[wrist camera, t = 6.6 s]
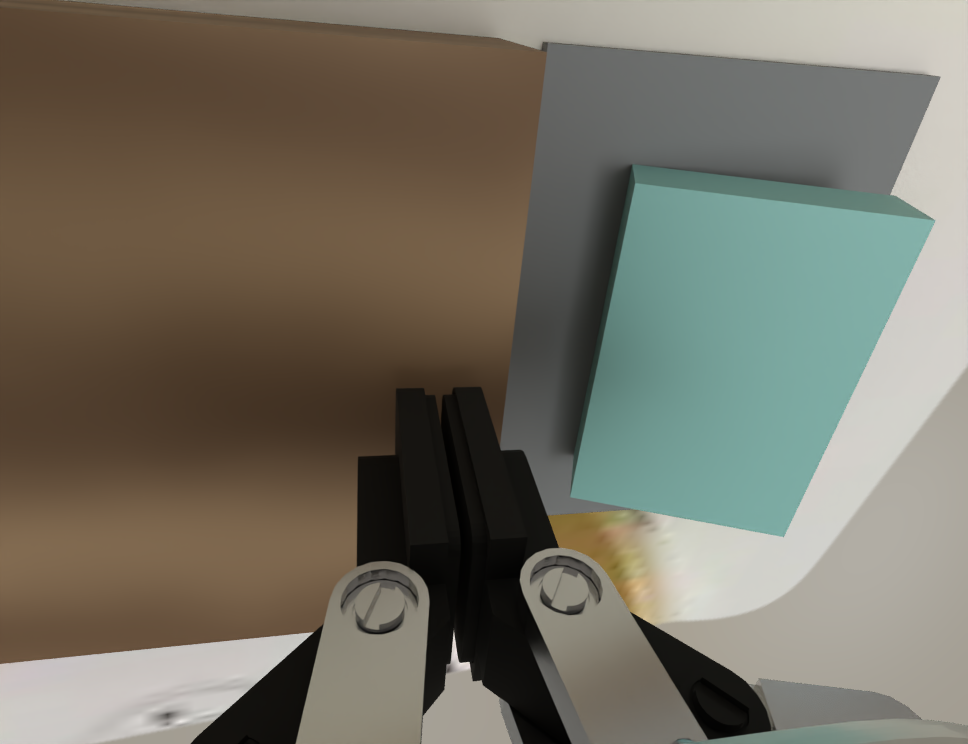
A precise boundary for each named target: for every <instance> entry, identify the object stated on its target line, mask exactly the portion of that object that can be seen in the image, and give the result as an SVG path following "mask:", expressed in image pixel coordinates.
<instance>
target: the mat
mask: <svg viewBox="0 0 968 744" xmlns="http://www.w3.org/2000/svg"><path fill="white" fill-rule="evenodd" d="M542 51H544V52H547V57H546V65H545V74H544V82H543V91H542V99H541V107H540V116H539V124H538V132H537V141H536V149H535V157H534V166H533V174H532V182H531V191H530V199H529V207H528V216H527V224H526V232H525V241H524V249H523V258H522V266H521V274H520V283H519V291H518V299H517V308H516V316H515V324H514V333H513V341H512V349H511V358H510V366H509V374H508V383H507V391H506V400H505V408H504V416H503V425H502V433H501V441H500V449H501V450H522V451H524V453H525V455H526V457H527V460H528V463H529V466H530V468H531V471H532V474H533V477H534V480H535V482H536V485H537V488H538V491H539V494H540V496H541V499H542V502H543V505H544V507H545V510H546V513H547V515H559V514H573V513H588V512H602V511H616V510H630V509H631V508H625V507H620V506H615V505H609V504H604V503H599V502H593V501H588V500H582V499H577V498H572V497H570V491H571V479H572V468H573V456H574V451H575V446H576V441H577V436H578V431H579V426H580V421H581V416H582V411H583V406H584V401H585V396H586V391H587V386H588V381H589V376H590V371H591V367H592V362H593V357H594V352H595V347H596V342H597V337H598V332H599V327H600V322H601V317H602V312H603V307H604V302H605V297H606V292H607V287H608V283H609V278H610V273H611V268H612V263H613V258H614V253H615V248H616V243H617V238H618V233H619V228H620V223H621V218H622V213H623V208H624V203H625V199H626V194H627V189H628V184H629V179H630V174H631V169H632V164H635V165H643V166H651V167H660V168H668V169H676V170H685V171H693V172H701V173H709V174H718V175H726V176H734V177H743V178H751V179H759V180H767V181H776V182H784V183H792V184H801V185H809V186H817V187H825V188H834V189H842V190H850V191H859V192H867V193H875V194H883V195H890V194H891V191H892V189H893V187H894V184H895V182H896V180H897V177H898V175H899V173H900V170H901V168H902V166H903V163H904V161H905V159H906V156H907V154H908V152H909V149H910V147H911V145H912V142H913V140H914V138H915V135H916V133H917V131H918V129H919V126H920V124H921V122H922V119H923V117H924V115H925V112H926V110H927V108H928V105H929V103H930V101H931V98H932V96H933V94H934V91H935V89H936V87H937V84H938V82H939V80H940V77H939V76H931V75H922V74H910V73H898V72H887V71H875V70H863V69H852V68H840V67H828V66H817V65H805V64H793V63H782V62H770V61H758V60H747V59H735V58H723V57H712V56H700V55H688V54H677V53H665V52H653V51H642V50H630V49H618V48H607V47H595V46H583V45H572V44H560V43H548V42H543V49H542Z"/></svg>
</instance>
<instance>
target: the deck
mask: <svg viewBox="0 0 968 744" xmlns="http://www.w3.org/2000/svg"><path fill="white" fill-rule="evenodd" d="M546 57H547V52H544V51H541V50H537V49H534V48H531V47H527V46H524V45H520V44H517V43H513V42H510V41H506V40H503V39H499V38H490V37H478V36H467V35H455V34H443V33H432V32H420V31H408V30H397V29H385V28H373V27H362V26H350V25H338V24H327V23H315V22H303V21H292V20H280V19H268V18H257V17H245V16H233V15H222V14H210V13H198V12H187V11H175V10H163V9H152V8H140V7H128V6H117V5H105V4H93V3H82V2H70V1H58V0H0V664H3V663H13V662H23V661H33V660H43V659H53V658H62V657H72V656H82V655H92V654H102V653H112V652H122V651H132V650H141V649H151V648H161V647H171V646H181V645H191V644H201V643H210V642H220V641H230V640H240V639H250V638H260V637H270V636H280V635H289V634H299V633H309V632H315V631H316V630H317V629H318V628H319V627H320V626H322V625H323V624H324V621H325V617H326V613H327V609H328V604H329V600H330V597H331V595H332V592H333V590H334V588H335V585H336V584H337V583H338V582H339V581H340V580H341V579H342V577H343V576H344V575H345V574H347V573H348V572H350V571H352V570H353V569H355V568H356V567H357V480H358V457H359V456H382V455H395V408H396V388H424V390H425V395H435V397H436V403H437V408H438V413H439V419H440V424H441V408H442V397H443V395H449V394H452V390H453V387H481V388H482V390H483V393H484V397H485V400H486V403H487V406H488V410H489V413H490V416H491V419H492V423H493V426H494V429H495V432H496V436H497V439H498V442H499V445H500V441H501V433H502V425H503V416H504V408H505V400H506V391H507V383H508V374H509V366H510V358H511V349H512V341H513V333H514V324H515V316H516V308H517V299H518V291H519V283H520V274H521V266H522V258H523V249H524V241H525V232H526V224H527V216H528V207H529V199H530V191H531V182H532V174H533V166H534V157H535V149H536V141H537V132H538V124H539V116H540V107H541V99H542V91H543V82H544V74H545V65H546Z"/></svg>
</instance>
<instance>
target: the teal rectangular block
mask: <svg viewBox="0 0 968 744" xmlns="http://www.w3.org/2000/svg"><path fill="white" fill-rule="evenodd" d="M935 221H936V220H934V219H932V218H931V217H929V216H927V215H926V214H924V213H922V212H921V211H919V210H918V209H916V208H914V207H913V206H911V205H909V204H908V203H906V202H905V201H903V200H901V199H900V198H898V197H896V196H892V195H883V194H875V193H867V192H859V191H850V190H842V189H834V188H825V187H817V186H809V185H801V184H792V183H784V182H776V181H767V180H759V179H751V178H743V177H734V176H726V175H718V174H709V173H701V172H693V171H685V170H676V169H668V168H660V167H651V166H643V165H635V164H632V169H631V174H630V179H629V184H628V189H627V194H626V199H625V203H624V208H623V213H622V218H621V223H620V228H619V233H618V238H617V243H616V248H615V253H614V258H613V263H612V268H611V273H610V278H609V283H608V287H607V292H606V297H605V302H604V307H603V312H602V317H601V322H600V327H599V332H598V337H597V342H596V347H595V352H594V357H593V362H592V367H591V371H590V376H589V381H588V386H587V391H586V396H585V401H584V406H583V411H582V416H581V421H580V426H579V431H578V436H577V441H576V446H575V451H574V456H573V468H572V479H571V491H570V497H572V498H577V499H582V500H588V501H593V502H599V503H604V504H609V505H615V506H620V507H625V508H631V509H636V510H642V511H647V512H652V513H658V514H663V515H668V516H674V517H679V518H685V519H690V520H695V521H701V522H706V523H712V524H717V525H722V526H728V527H733V528H738V529H744V530H749V531H755V532H760V533H765V534H771V535H776V536H781V537H784V535H785V533H786V531H787V529H788V527H789V525H790V523H791V521H792V519H793V517H794V515H795V512H796V510H797V508H798V506H799V504H800V502H801V500H802V498H803V496H804V494H805V492H806V490H807V487H808V485H809V483H810V481H811V479H812V477H813V475H814V473H815V471H816V469H817V467H818V465H819V462H820V460H821V458H822V456H823V454H824V452H825V450H826V448H827V446H828V444H829V442H830V440H831V437H832V435H833V433H834V431H835V429H836V427H837V425H838V423H839V421H840V419H841V417H842V414H843V412H844V410H845V408H846V406H847V404H848V402H849V400H850V398H851V396H852V394H853V392H854V389H855V387H856V385H857V383H858V381H859V379H860V377H861V375H862V373H863V371H864V369H865V367H866V364H867V362H868V360H869V358H870V356H871V354H872V352H873V350H874V348H875V346H876V344H877V342H878V339H879V337H880V335H881V333H882V331H883V329H884V327H885V325H886V323H887V321H888V319H889V317H890V314H891V312H892V310H893V308H894V306H895V304H896V302H897V300H898V298H899V296H900V294H901V291H902V289H903V287H904V285H905V283H906V281H907V279H908V277H909V275H910V273H911V271H912V269H913V266H914V264H915V262H916V260H917V258H918V256H919V254H920V252H921V250H922V248H923V246H924V244H925V241H926V239H927V237H928V235H929V233H930V231H931V229H932V227H933V225H934V223H935Z"/></svg>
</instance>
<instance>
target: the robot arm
mask: <svg viewBox="0 0 968 744" xmlns="http://www.w3.org/2000/svg"><path fill="white" fill-rule="evenodd" d="M453 631H454V633H455V640H456V647H457V654H458V659H459V662H460V663H462V662H470V667H471V673H472V679H473V681H480V680H482V683H483V685H484V686H485V687H486V688H487V689H489V690H490V691H492V692H493V693H494V694H496V695H497V696H498V697H500V699H499V702H500V707H501V713H502V716H503V719H504V721H505V725H506V728H507V730H508V733H509V736H510V739H511V742H512V744H968V726H966V725H961V724H956V723H950V722H941V721H934V720H922V719H921V718H920V717H919V716H918V715H916V714H915V713H914V712H913V711H912V710H911V709H910V708H908V707H907V706H905V705H903V704H902V703H900V702H899V701H897V700H895V699H893V698H892V697H890V696H886V695H882V694H879V693H875V692H870V691H861V690H852V689H844V688H836V687H827V686H819V685H810V684H802V683H794V682H785V681H777V680H768V679H760V678H759V679H758V681H757V683H756V685H752V684H748V683H747V682H746V681H744V680H743V679H742V678H740V677H739V676H738V675H736V674H735V673H733V672H732V671H731V670H729V669H727V668H725V667H724V666H722V665H720V664H719V663H717V662H715V661H713V660H712V659H710V658H708V657H707V656H705V655H703V654H701V653H700V652H698V651H696V650H694V649H693V648H691V647H690V646H688V645H686V644H684V643H683V642H681V641H679V640H678V639H676V638H674V637H672V636H671V635H669V634H667V633H665V632H664V631H662V630H660V629H659V628H657V627H655V626H654V625H652V624H650V623H648V622H647V621H645V620H643V619H642V618H640V617H638V616H636V615H635V614H633V613H631V612H630V611H629V609H628V608H627V606H626V605H625V603H624V601H623V600H622V598H621V596H620V595H619V593H618V591H617V590H616V588H615V587H614V585H613V583H612V582H611V580H610V578H609V577H608V575H607V574H606V572H605V571H604V570H603V569H602V568H601V566H600V565H599V564H598V563H596V562H595V561H594V560H592V559H591V558H590V557H588V556H587V555H584V554H582V553H580V552H577V551H575V550H570V549H564V548H559V547H558V544H557V541H556V538H555V535H554V533H553V530H552V527H551V524H550V521H549V519H548V516H547V513H546V510H545V507H544V505H543V502H542V499H541V496H540V494H539V491H538V488H537V485H536V482H535V480H534V477H533V474H532V471H531V468H530V466H529V463H528V460H527V457H526V455H525V453H524V451H522V450H501V449H500V445H499V442H498V439H497V436H496V432H495V429H494V426H493V423H492V419H491V416H490V413H489V410H488V406H487V403H486V400H485V397H484V393H483V390H482V388H481V387H453V390H452V394H449V395H443V397H442V408H441V424H440V419H439V413H438V408H437V403H436V397H435V395H425V390H424V388H396V408H395V455H382V456H359V457H358V480H357V567H356V568H355V569H353V570H352V571H350V572H348V573H347V574H345V575H344V576H343V577H342V579H341V580H340V581H339V582H338V583H337V584H336V585H335V588H334V590H333V592H332V595H331V597H330V600H329V604H328V609H327V613H326V617H325V621H324V624H323V625H322V626H320V627H319V628H318V629H317V630H316V631H315V632H314V633H313V634H311V635H310V636H309V637H308V638H307V639H306V640H305V641H304V642H302V643H301V644H300V645H299V646H298V647H297V648H296V649H295V650H294V651H292V652H291V653H290V654H289V655H288V656H287V657H286V658H285V659H283V660H282V661H281V662H280V663H279V664H278V665H277V666H276V667H274V668H273V669H272V670H271V671H270V672H269V673H268V674H267V675H266V676H264V677H263V678H262V679H261V680H260V681H259V682H258V683H257V684H255V685H254V686H253V687H252V688H251V689H250V690H249V691H248V692H246V693H245V694H244V695H243V696H242V697H241V698H240V699H239V700H238V701H236V702H235V703H234V704H233V705H232V706H231V707H230V708H229V709H227V710H226V711H225V712H224V713H223V714H222V715H221V716H220V717H218V718H217V719H216V720H215V721H214V722H213V723H212V724H211V725H210V726H208V727H207V728H206V729H205V730H204V731H203V732H202V733H201V734H199V736H197V737H196V738H195V739H194V741H193V742H192V743H191V744H421V738H422V737H421V736H422V722H423V715H424V714H425V713H426V711H427V710H428V709H429V708H430V707H431V705H432V704H433V703H434V702H435V700H436V699H437V698H438V697H439V696H440V694H441V693H442V692H443V690H444V686H445V675H446V664H450V662H451V653H452V642H453Z"/></svg>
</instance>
